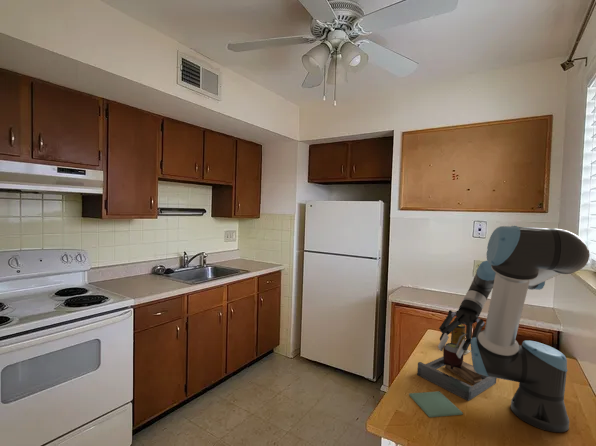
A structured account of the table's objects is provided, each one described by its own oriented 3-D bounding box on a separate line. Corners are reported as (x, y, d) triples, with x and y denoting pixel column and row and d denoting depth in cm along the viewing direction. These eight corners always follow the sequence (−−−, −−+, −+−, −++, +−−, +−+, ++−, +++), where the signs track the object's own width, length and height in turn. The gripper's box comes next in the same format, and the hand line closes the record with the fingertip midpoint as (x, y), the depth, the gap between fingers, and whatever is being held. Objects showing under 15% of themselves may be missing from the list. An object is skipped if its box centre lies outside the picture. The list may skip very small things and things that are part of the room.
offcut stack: (483, 384, 123) (484, 372, 122) (475, 386, 121) (475, 374, 121) (453, 366, 135) (454, 355, 135) (445, 368, 134) (446, 357, 134)
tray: (496, 383, 123) (497, 370, 123) (468, 401, 110) (469, 387, 110) (446, 361, 139) (447, 350, 139) (417, 374, 126) (418, 362, 126)
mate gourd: (443, 359, 128) (446, 323, 127) (465, 365, 124) (468, 327, 123) (441, 367, 121) (444, 328, 121) (464, 373, 117) (467, 333, 117)
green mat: (462, 414, 103) (462, 412, 103) (429, 417, 100) (429, 415, 100) (439, 392, 115) (439, 391, 114) (409, 395, 112) (409, 393, 112)
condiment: (453, 344, 158) (455, 321, 157) (471, 351, 151) (473, 326, 151) (446, 348, 153) (448, 324, 153) (464, 355, 147) (466, 329, 146)
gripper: (501, 317, 124) (478, 368, 114) (452, 303, 139) (428, 348, 130) (496, 305, 120) (472, 357, 111) (446, 293, 136) (422, 337, 127)
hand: (448, 352), depth 121 cm, fingers closed on mate gourd, 6 cm apart
